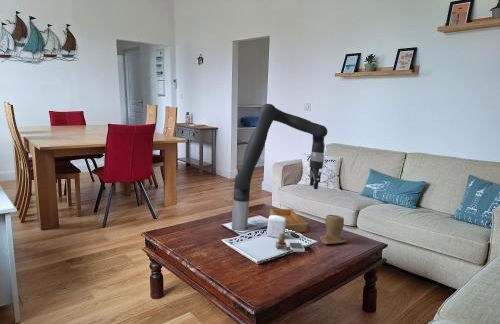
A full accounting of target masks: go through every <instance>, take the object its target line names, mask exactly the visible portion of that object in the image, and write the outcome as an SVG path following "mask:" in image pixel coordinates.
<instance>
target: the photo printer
mask: <svg viewBox="0 0 500 324" xmlns="http://www.w3.org/2000/svg"><path fill="white" fill-rule="evenodd" d="M285 228H286V218H284V217H281V216H277V215H271V216H270V215H269V216H268V220H267V228H266V229H267V230H266V236H267V237H271V238H276V239H279V234H281V233H282V234H285V235H286V232H285Z"/></svg>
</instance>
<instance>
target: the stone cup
mask: <svg viewBox="0 0 500 324" xmlns="http://www.w3.org/2000/svg"><path fill="white" fill-rule="evenodd" d="M324 221H325V230H326V233H325V235H321V236H319V239H320V241H321V242H322V244H324V245H333V244H341V243H346V242H347V239H345V238H344V237H343V236H341V235H342V231H343V228H344V225H345V219H344V217H343V216H341V215H337V214H327V215H326V216H325V220H324Z"/></svg>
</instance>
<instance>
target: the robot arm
mask: <svg viewBox="0 0 500 324" xmlns="http://www.w3.org/2000/svg"><path fill="white" fill-rule="evenodd" d="M274 122H278V123H280V124H283V125H286V126H288V127H290V128H292V129H295V130H298V131H300V132H303V133H307V134H309V135H312V145H311V152H310V160H309V165H308V167H309V168H310V169H309V175H308V177H309V179H310V180H309V186H312V187H313V189H314V190H318V189H319V183H321V177H322V172H321V171H320V170H322V169H323V166H324V161H325V159H324V158H325V137H326V136H327V134H328V129H327V127H326V126H325V125H322V124H320V123H316V122H313V121H311V120H308V119H305V118H303V117H301V116H298V115H293V114H290V113H287V112H284V111H282V110H281V109H278V108H277V107H276V106H275V105H274V104H272V103H265V104H263V105H262V106H261V107H260V109H259V115H258V119H257V123H256V126H255V128H254V130H253V132H252V133H251V136H250V138H249V140H248V143H247V145H246V148H245V150H244V154H243V160H242V165H241V167H240V168H239V172H238V173H237V174H236V175H235V177H234V186H233V187H234V188H233V203H232V212H231V213H232V214H231V215H232V216H231V230H236V231H245V229H246V230H247V229H248V223H249V207H250V205H249V204H250V194H251V193H250V192H251V191H250V190H251V181H252V178H253V175H254V171H255V168H256V166H257V164H258V163H259V160H260V158H261V156H262V153H263V150H264V147H265V144H266V142H267V137H268V133H269V130H270V128H271V126H272V124H273V123H274Z"/></svg>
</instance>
